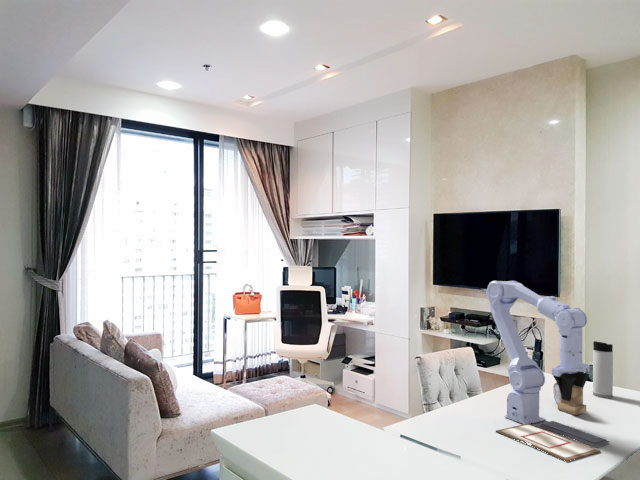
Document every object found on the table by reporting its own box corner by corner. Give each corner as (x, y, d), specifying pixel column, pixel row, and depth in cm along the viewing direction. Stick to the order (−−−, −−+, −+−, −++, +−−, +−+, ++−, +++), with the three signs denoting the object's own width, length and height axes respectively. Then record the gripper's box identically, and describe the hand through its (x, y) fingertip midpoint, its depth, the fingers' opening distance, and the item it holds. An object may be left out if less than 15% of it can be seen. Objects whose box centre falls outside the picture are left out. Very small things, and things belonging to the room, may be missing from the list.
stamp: (574, 416, 132) (574, 390, 132) (557, 410, 136) (557, 385, 137) (586, 413, 134) (586, 387, 135) (569, 408, 139) (569, 383, 139)
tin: (583, 418, 151) (583, 391, 151) (573, 418, 151) (573, 391, 151) (560, 403, 166) (560, 379, 166) (551, 403, 166) (551, 378, 166)
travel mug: (588, 393, 178) (588, 340, 179) (601, 392, 180) (602, 339, 181) (602, 398, 172) (603, 343, 173) (616, 397, 174) (616, 342, 175)
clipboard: (566, 462, 118) (566, 459, 118) (495, 431, 137) (495, 429, 137) (600, 452, 124) (600, 449, 124) (528, 424, 144) (528, 422, 144)
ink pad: (595, 447, 127) (595, 443, 127) (539, 426, 142) (539, 423, 142) (608, 444, 130) (608, 439, 130) (552, 423, 145) (552, 420, 145)
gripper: (568, 355, 129) (568, 406, 129) (600, 351, 136) (600, 399, 136) (545, 351, 135) (545, 399, 135) (576, 347, 142) (576, 393, 142)
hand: (571, 399), depth 136 cm, fingers closed on stamp, 4 cm apart
